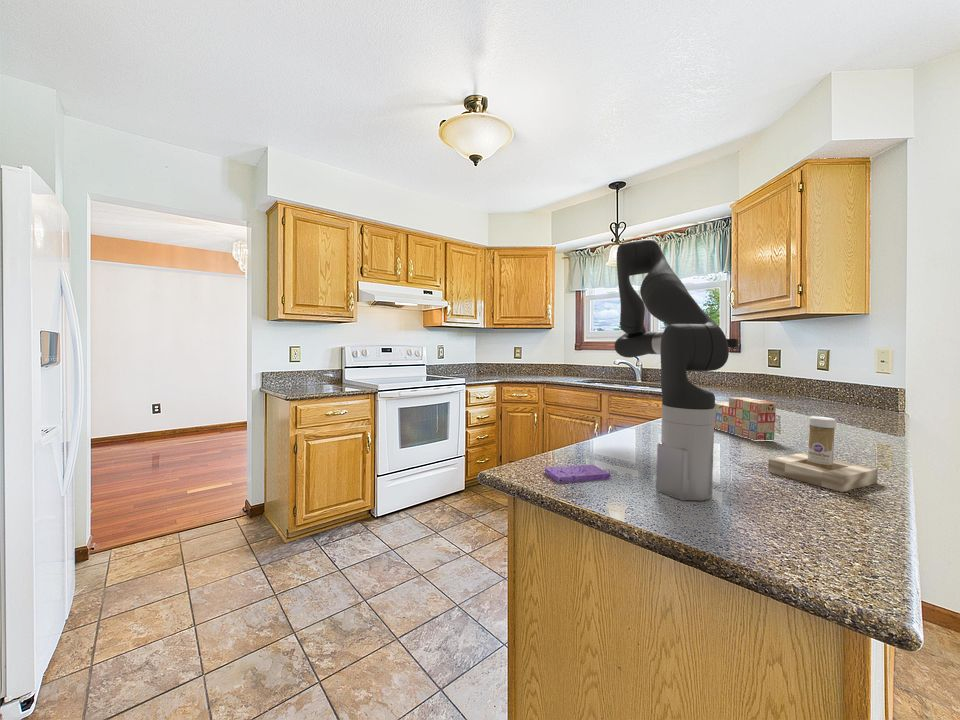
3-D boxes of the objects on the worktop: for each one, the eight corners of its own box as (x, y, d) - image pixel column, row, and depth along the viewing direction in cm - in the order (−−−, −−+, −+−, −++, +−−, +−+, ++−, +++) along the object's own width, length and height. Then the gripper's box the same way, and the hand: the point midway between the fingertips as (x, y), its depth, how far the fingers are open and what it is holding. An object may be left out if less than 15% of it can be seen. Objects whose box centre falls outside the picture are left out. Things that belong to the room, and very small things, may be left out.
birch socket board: (841, 491, 81) (842, 477, 81) (768, 471, 94) (768, 458, 94) (877, 482, 87) (877, 469, 87) (803, 465, 100) (803, 453, 100)
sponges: (544, 475, 91) (544, 467, 91) (593, 471, 95) (593, 463, 95) (558, 485, 85) (558, 476, 84) (611, 480, 88) (611, 472, 88)
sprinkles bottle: (806, 477, 90) (809, 417, 90) (806, 472, 94) (809, 414, 93) (833, 481, 87) (836, 420, 87) (832, 476, 91) (835, 417, 90)
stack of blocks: (708, 428, 145) (710, 393, 145) (724, 427, 146) (726, 393, 145) (756, 442, 124) (758, 402, 123) (774, 442, 125) (776, 402, 124)
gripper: (655, 329, 115) (708, 327, 100) (690, 330, 121) (744, 328, 106) (654, 355, 115) (707, 357, 100) (689, 355, 121) (743, 357, 106)
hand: (726, 342), depth 103 cm, fingers open, 8 cm apart
